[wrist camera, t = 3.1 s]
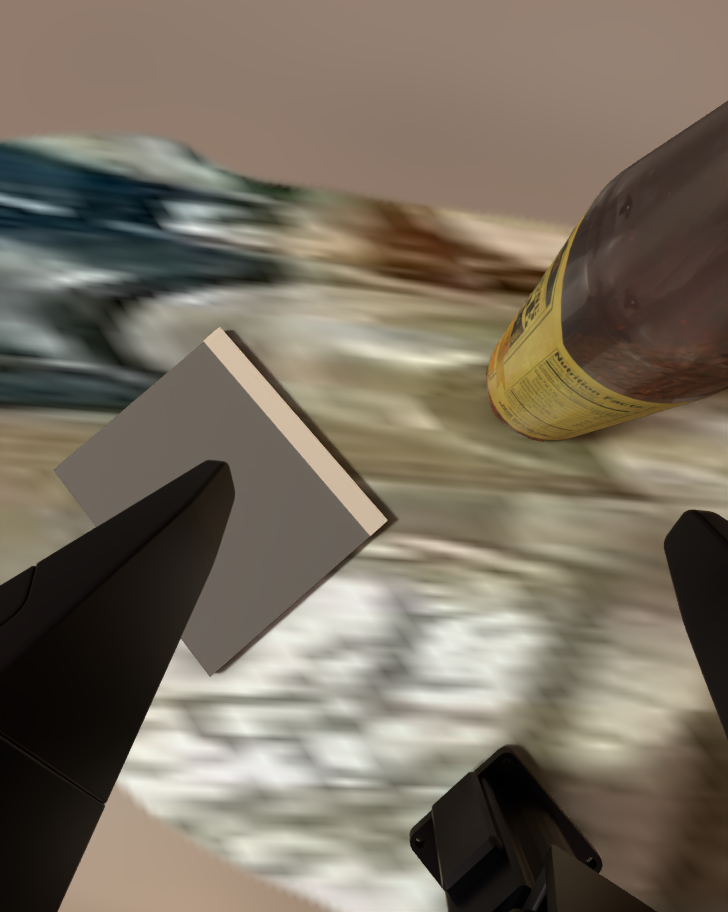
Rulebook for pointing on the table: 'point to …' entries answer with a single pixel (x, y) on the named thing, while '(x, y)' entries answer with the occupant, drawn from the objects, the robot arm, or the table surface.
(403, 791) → the table surface
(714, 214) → the sauce bottle
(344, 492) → the mat
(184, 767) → the table surface
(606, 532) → the table surface
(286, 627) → the table surface
